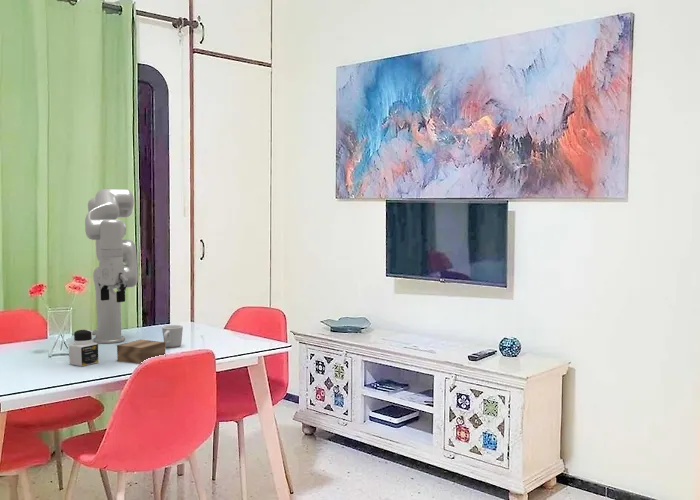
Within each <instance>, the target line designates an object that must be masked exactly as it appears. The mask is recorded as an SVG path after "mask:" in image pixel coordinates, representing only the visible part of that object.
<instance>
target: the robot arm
mask: <svg viewBox="0 0 700 500" xmlns="http://www.w3.org/2000/svg"><path fill="white" fill-rule="evenodd" d="M134 204H135V199H134V195H133V193H132V191H131V190H130V189H128V188H103V189H100V190H98V191H97V193H96V194H95V197H93V198H90V199H89V200H88V203H87V211H88V212H87V213H86V215H85V220H84V226H85V227H84V229H85V230H84V231H85V235H86V238H88V239H89V240H92V241H93V240H94V241H95V253H96V258H97V260H98V261H99V263H98V266H97V267H95V269H94V270H93V273H92V274H93V276H92V279H93V282H94V287H95V300H96V307H95V308H96V329H94V330H93V331H92V336H95V338H92V342H93V343H98V344H115V343H116V344H117V343H120V342H121V343H122V342H124V341H125V340H126V336H124V335H122V313H121V312H122V311H121V310H122V309H121V304H122V303H123V302H126V291H127V288H132V287H135V286H137V284H138V281H139V273H138V261H137V260H138V258H137V257H138V255H137V248H136V247H137V246H136V244H135V242H134V241H133V240H131V239H123V238H124V237H125V235H126V234H127V224H126V223H125V222H124V221H123V220H122V219H118V218H129V217H131V215H133V209H134ZM114 289H116V291H115V290H114Z"/></svg>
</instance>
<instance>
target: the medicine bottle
mask: <svg viewBox="0 0 700 500" xmlns="http://www.w3.org/2000/svg"><path fill="white" fill-rule="evenodd" d="M92 332H93V331H92V330H90V329H78V330H75V331H74V333H73V340H74V343H71V344H69V345H68V354H69V355H68V356H69V358H68V361H69V365H73V366H79V367H86V366H91V365H94V364H98V363H99V343H95V342H94V341H93V335H92Z"/></svg>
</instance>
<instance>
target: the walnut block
mask: <svg viewBox="0 0 700 500" xmlns="http://www.w3.org/2000/svg"><path fill="white" fill-rule="evenodd" d="M164 354H165V355H166V346H165V342H164V341H158V340H157V341H156V340H149V339H148V340H147V339H138V340H132V341H129V342H125V343H120V344H117V345H116V357H117V358H116V360H117V362H125V363H132V364H140V363H141V362H143V361H144V360H146V359H148V358H151V357H155V356H159V355H164ZM140 365H141V364H140Z"/></svg>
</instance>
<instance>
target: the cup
mask: <svg viewBox="0 0 700 500" xmlns="http://www.w3.org/2000/svg"><path fill="white" fill-rule="evenodd" d="M161 329H162V330H161V331H162V336H163V337H162V338H163V342H165V348H178V347H180V346H181V345H182V340H183V329H184V326H183V325H181V324H168V325H164V326H162V327H161Z"/></svg>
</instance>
